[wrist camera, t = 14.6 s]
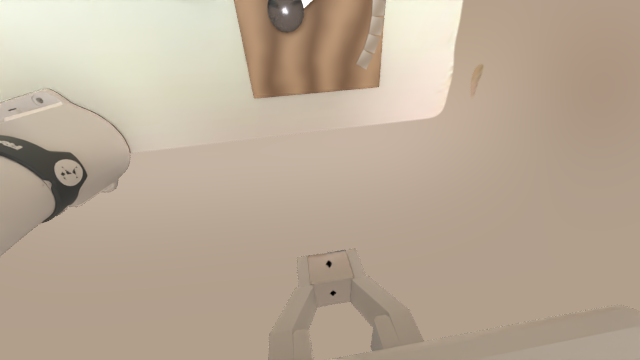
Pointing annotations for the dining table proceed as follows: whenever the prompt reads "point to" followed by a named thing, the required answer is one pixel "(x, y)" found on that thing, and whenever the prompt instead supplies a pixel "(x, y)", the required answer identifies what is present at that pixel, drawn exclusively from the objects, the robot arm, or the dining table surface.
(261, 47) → the tuner board
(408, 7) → the dining table surface
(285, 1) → the peg lever
